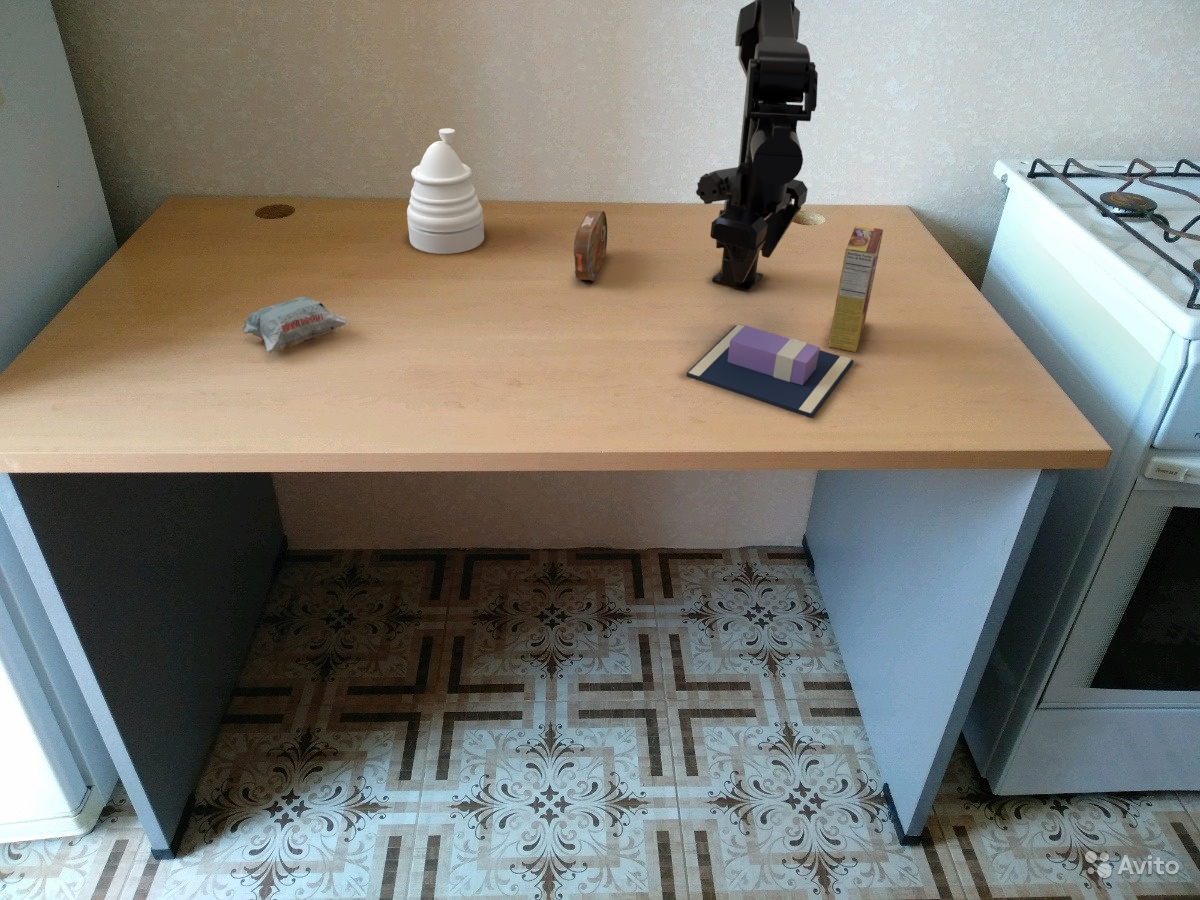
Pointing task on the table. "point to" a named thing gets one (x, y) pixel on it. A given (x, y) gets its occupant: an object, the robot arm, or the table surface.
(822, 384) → the towel
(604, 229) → the tin
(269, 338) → the packaged food
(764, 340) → the chocolate
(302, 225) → the table surface
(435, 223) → the honey pot
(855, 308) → the candy box
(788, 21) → the robot arm
